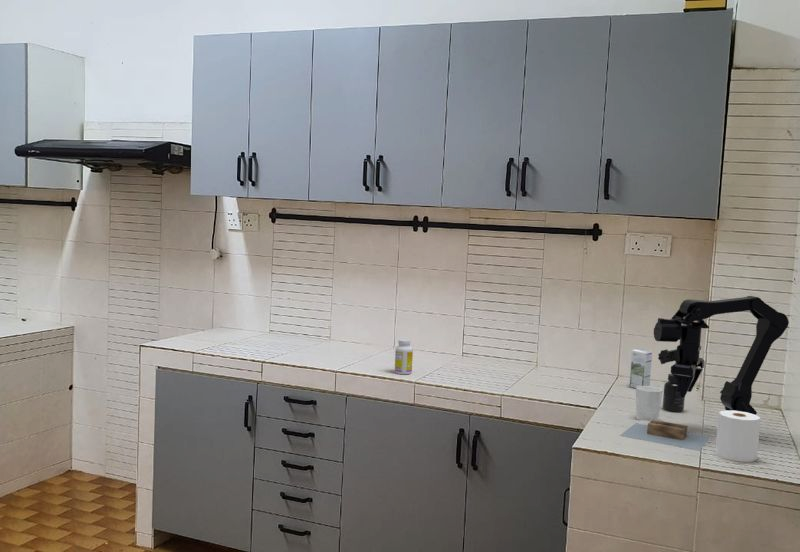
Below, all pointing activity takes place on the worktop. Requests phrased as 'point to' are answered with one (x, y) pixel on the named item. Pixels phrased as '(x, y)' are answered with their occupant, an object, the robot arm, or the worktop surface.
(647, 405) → the white cup
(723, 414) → the toilet paper
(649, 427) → the brown wooden block
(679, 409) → the supplement bottle
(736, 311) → the robot arm
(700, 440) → the grey board
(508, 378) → the worktop surface
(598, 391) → the worktop surface
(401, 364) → the supplement bottle
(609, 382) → the worktop surface
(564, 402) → the worktop surface
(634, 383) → the syrup box
